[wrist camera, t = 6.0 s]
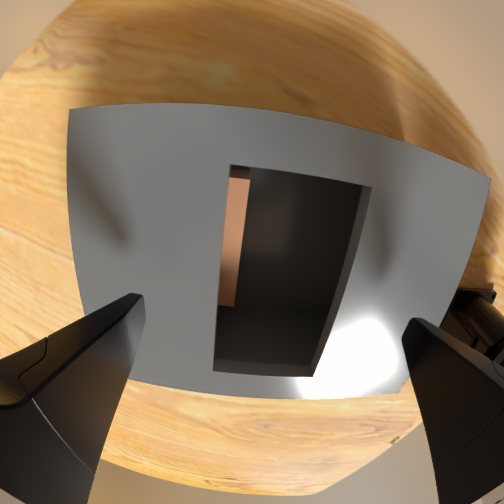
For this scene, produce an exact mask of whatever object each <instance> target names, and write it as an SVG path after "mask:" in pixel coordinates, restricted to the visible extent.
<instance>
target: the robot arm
mask: <svg viewBox="0 0 504 504" xmlns="http://www.w3.org/2000/svg"><path fill="white" fill-rule="evenodd" d="M496 295H497V293H496V292H495V291H494V290H486V289H472V288H459V289H458V290H457V291H456V293H455V296H454V298H453V300H452V302H451V304H450V306H449V309H448V311H447V313H446V315H445V317H444V319H443V321H442V323H441V325H440V327H439V328H438V327H437V326H435V325H433V324H432V323H430V322H428V321H426V320H425V319H423V318H421V317H413V318H411V319H410V320H409V322H408V324H407V326H406V328H405V330H404V332H403V335H402V338H401V341H402V346H403V350H404V354H405V358H406V362H407V367H408V371H409V375H410V379H411V382H412V385H413V388H414V392H415V395H416V398H417V402H418V405H419V409H420V412H421V416H422V420H423V423H424V427H425V431H426V435H427V440H428V443H429V448H430V453H431V457H432V462H433V468H434V473H435V480H436V486H437V492H438V499H439V504H471V503H473V502H475V501H476V500H478V499H480V498H481V499H482V502H483V504H504V316H503V315H502V314H501V313H500V312H499V311H498V310H497V309H496V308H495V307H494V306H493V305H492V304H493V302H494V300H495V297H496ZM145 321H146V313H145V303H144V297H143V295H142V294H137V293H129V294H127V295H125V296H123V297H121V298H119V299H117V300H115V301H113V302H111V303H109V304H107V305H106V306H104V307H102V308H100V309H98V310H96V311H94V312H92V313H90V314H88V315H86V316H85V317H83V318H81V319H79V320H77V321H75V322H73V323H71V324H69V325H68V326H66V327H64V328H62V329H60V330H58V331H56V332H54V333H53V334H51V335H49V336H48V338H47V337H45V338H43V339H41V340H40V341H38V342H36V343H34V344H32V345H30V346H28V347H26V348H24V349H22V350H20V351H18V352H16V353H13V354H11V355H9V356H7V357H4V358H2V359H0V504H87V502H88V498H89V494H90V490H91V487H92V483H93V480H94V475H95V473H96V469H97V465H98V462H99V459H100V456H101V453H102V450H103V447H104V444H105V441H106V438H107V435H108V432H109V429H110V426H111V423H112V420H113V417H114V414H115V412H116V409H117V406H118V403H119V401H120V398H121V395H122V393H123V390H124V387H125V385H126V382H127V379H128V377H129V374H130V372H131V369H132V367H133V364H134V361H135V358H136V354H137V350H138V346H139V343H140V339H141V336H142V332H143V329H144V325H145Z"/></svg>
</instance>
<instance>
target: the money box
mask: <svg viewBox="0 0 504 504" xmlns="http://www.w3.org/2000/svg"><path fill="white" fill-rule="evenodd" d="M231 169H237V170H245V171H250V185H249V192H248V200H247V207H246V215H245V222H244V230H243V238H242V245H241V253H240V261H239V269H238V277H237V285H236V293H235V301H234V307H232V306H224V305H218V298H219V285H220V273H221V261H222V250H223V239H224V228H225V218H226V208H227V199H228V189H229V180H230V171H231ZM490 181H491V178H489V177H487V176H485V175H483V174H481V173H479V172H477V171H475V170H473V169H471V168H469V167H466V166H464V165H462V164H460V163H457V162H455V161H453V160H450V159H448V158H446V157H443V156H441V155H438V154H436V153H433V152H431V151H428V150H425V149H423V148H420V147H417V146H414V145H412V144H409V143H406V142H403V141H400V140H397V139H394V138H391V137H387V136H384V135H381V134H377V133H374V132H371V131H367V130H363V129H360V128H356V127H352V126H348V125H344V124H340V123H336V122H331V121H327V120H322V119H317V118H312V117H307V116H302V115H296V114H291V113H284V112H278V111H271V110H264V109H256V108H248V107H238V106H227V105H214V104H195V103H135V104H117V105H104V106H94V107H85V108H77V109H70V110H69V120H68V134H67V197H68V213H69V224H70V234H71V242H72V250H73V257H74V263H75V270H76V275H77V281H78V286H79V291H80V296H81V300H82V305H83V309H84V313H85V316H86V315H88V314H90V313H92V312H94V311H96V310H98V309H100V308H102V307H104V306H106V305H107V304H109V303H111V302H113V301H115V300H117V299H119V298H121V297H123V296H125V295H127V294H129V293H137V294H142V295H143V297H144V303H145V313H146V321H145V325H144V329H143V332H142V336H141V339H140V343H139V346H138V350H137V354H136V358H135V361H134V364H133V367H132V369H131V372H130V374H129V377H128V379H130V380H134V381H139V382H143V383H148V384H153V385H158V386H163V387H169V388H175V389H181V390H187V391H194V392H201V393H209V394H217V395H227V396H237V397H251V398H269V399H333V398H351V397H364V396H374V395H383V394H391V393H399V391H400V390H401V388H402V387H403V386H404V384H405V383H406V381H407V380H408V378H409V377H410V375H409V371H408V367H407V362H406V358H405V354H404V350H403V346H402V341H401V338H402V335H403V332H404V330H405V328H406V326H407V324H408V322H409V320H410V319H411V318H413V317H421V318H423V319H425V320H426V321H428V322H430V323H432V324H433V325H435V326H437V327H439V325H440V323H441V322H442V320H443V318H444V316H445V313H446V311H447V309H448V307H449V305H450V303H451V301H452V299H453V296H454V294H455V292H456V290H457V287H458V285H459V283H460V280H461V278H462V275H463V273H464V270H465V268H466V265H467V262H468V260H469V257H470V254H471V251H472V248H473V245H474V242H475V239H476V236H477V233H478V229H479V226H480V223H481V219H482V215H483V212H484V208H485V204H486V200H487V195H488V191H489V186H490Z"/></svg>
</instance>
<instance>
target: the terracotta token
mask: <svg viewBox="0 0 504 504" xmlns="http://www.w3.org/2000/svg"><path fill="white" fill-rule="evenodd" d="M249 185H250V171H245V170H237V169H231V171H230V180H229V189H228V199H227V208H226V218H225V228H224V239H223V250H222V261H221V273H220V285H219V298H218V305H224V306H232V307H234V301H235V293H236V285H237V277H238V269H239V261H240V253H241V245H242V238H243V230H244V222H245V215H246V207H247V200H248V192H249Z"/></svg>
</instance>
